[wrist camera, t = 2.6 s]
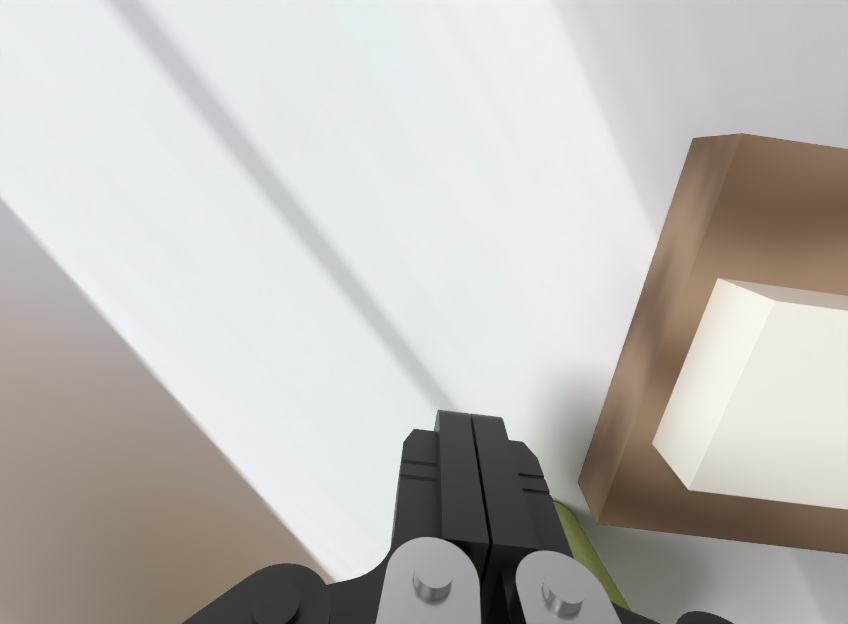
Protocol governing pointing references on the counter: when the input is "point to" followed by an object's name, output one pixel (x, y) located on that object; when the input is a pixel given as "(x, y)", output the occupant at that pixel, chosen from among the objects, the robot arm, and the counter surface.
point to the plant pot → (587, 554)
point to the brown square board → (681, 315)
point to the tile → (763, 397)
